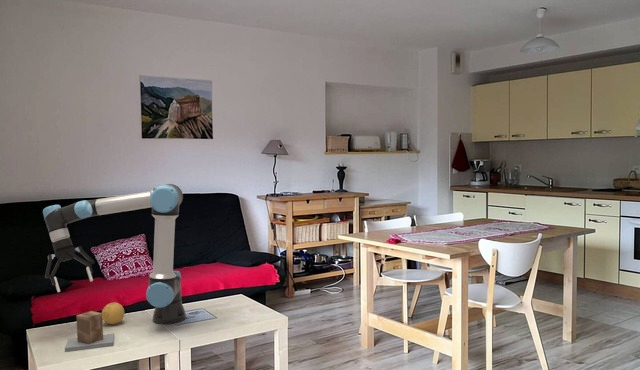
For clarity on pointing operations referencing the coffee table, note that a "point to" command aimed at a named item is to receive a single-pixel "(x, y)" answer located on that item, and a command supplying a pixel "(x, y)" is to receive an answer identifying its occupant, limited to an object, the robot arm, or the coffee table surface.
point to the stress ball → (113, 313)
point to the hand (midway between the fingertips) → (75, 286)
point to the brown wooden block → (89, 327)
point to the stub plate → (75, 345)
